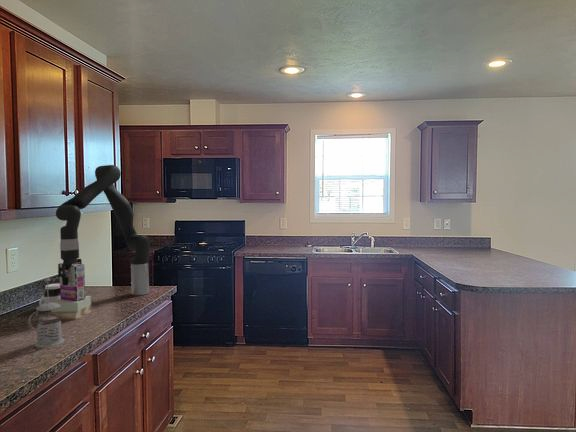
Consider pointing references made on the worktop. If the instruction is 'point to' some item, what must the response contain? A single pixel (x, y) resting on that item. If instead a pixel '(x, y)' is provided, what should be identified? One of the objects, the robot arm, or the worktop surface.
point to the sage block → (72, 304)
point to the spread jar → (51, 294)
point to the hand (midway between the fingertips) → (71, 283)
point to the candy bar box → (74, 284)
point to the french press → (48, 325)
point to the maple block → (73, 313)
